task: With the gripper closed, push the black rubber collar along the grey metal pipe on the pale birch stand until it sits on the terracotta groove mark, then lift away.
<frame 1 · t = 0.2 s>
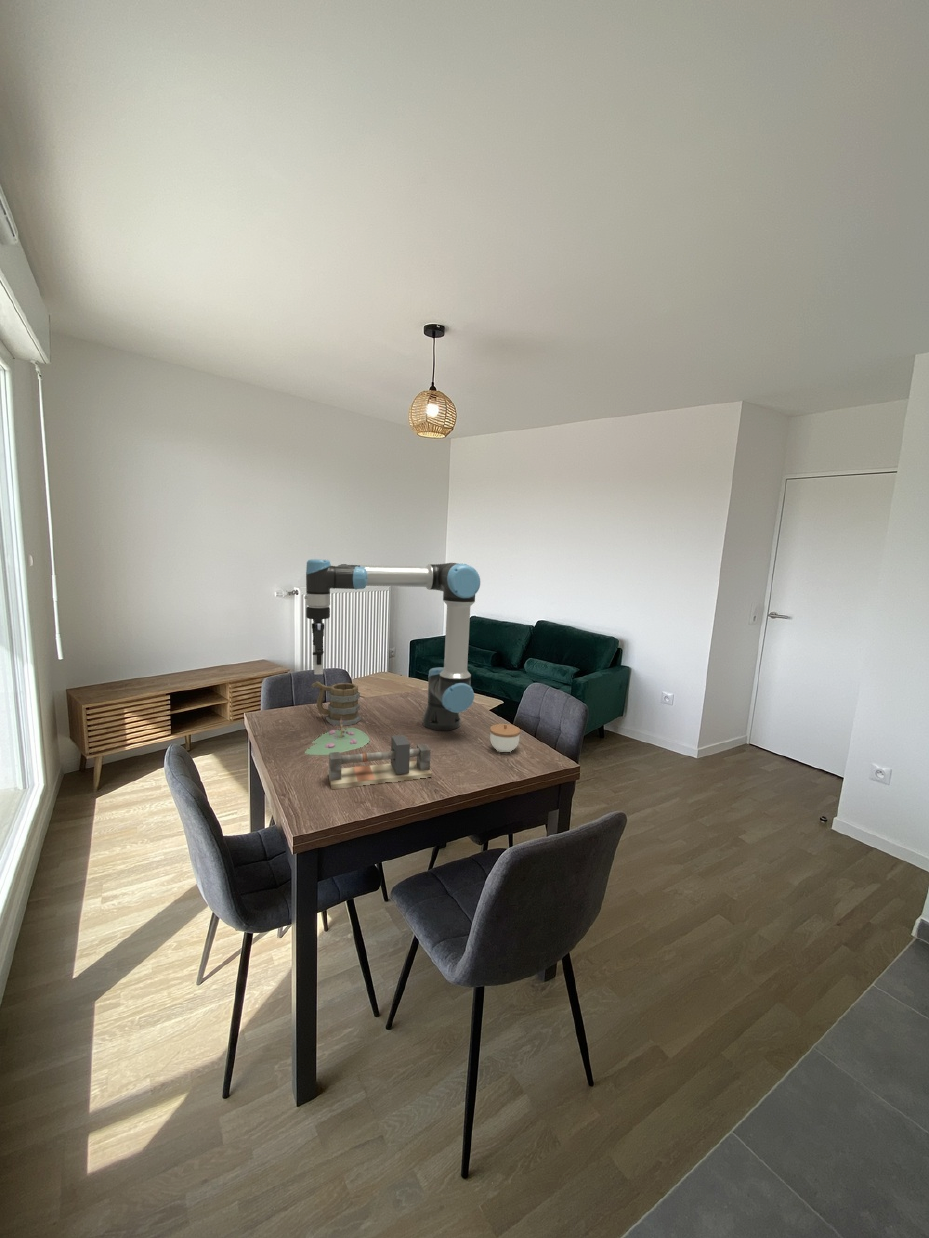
hand: (317, 669, 170), 28 cm above the table, tool pointing down, fingers open, 13 cm apart
lidded jar: (503, 750, 180), on the table
plant: (336, 744, 180), on the table
collar: (400, 754, 156), point 7 cm above the table, slide at -6.0 cm
tankard: (335, 719, 204), on the table
pipe stand: (380, 776, 155), on the table
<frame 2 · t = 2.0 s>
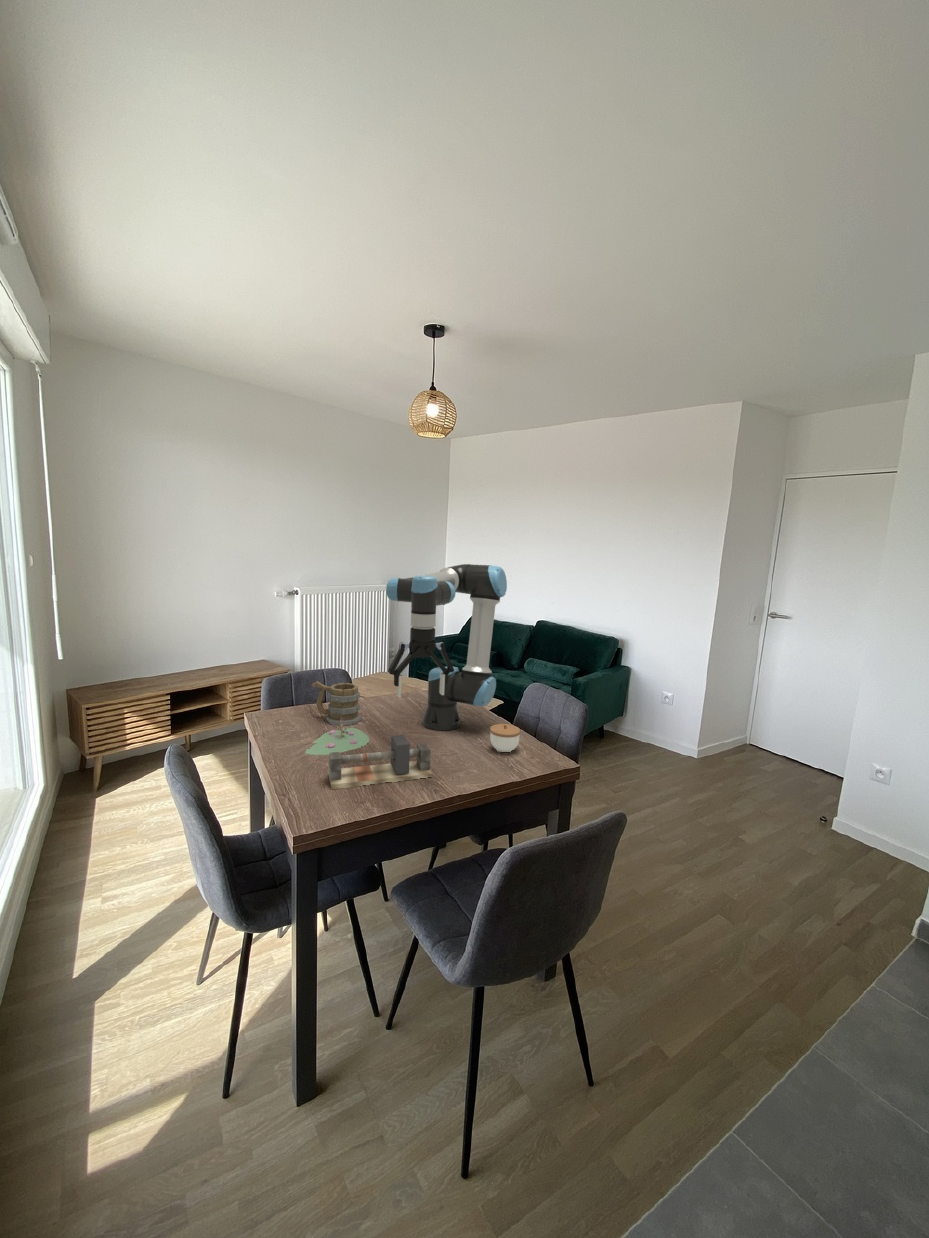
hand: (420, 695, 156), 25 cm above the table, tool pointing down, fingers open, 13 cm apart
nothing on the table moved.
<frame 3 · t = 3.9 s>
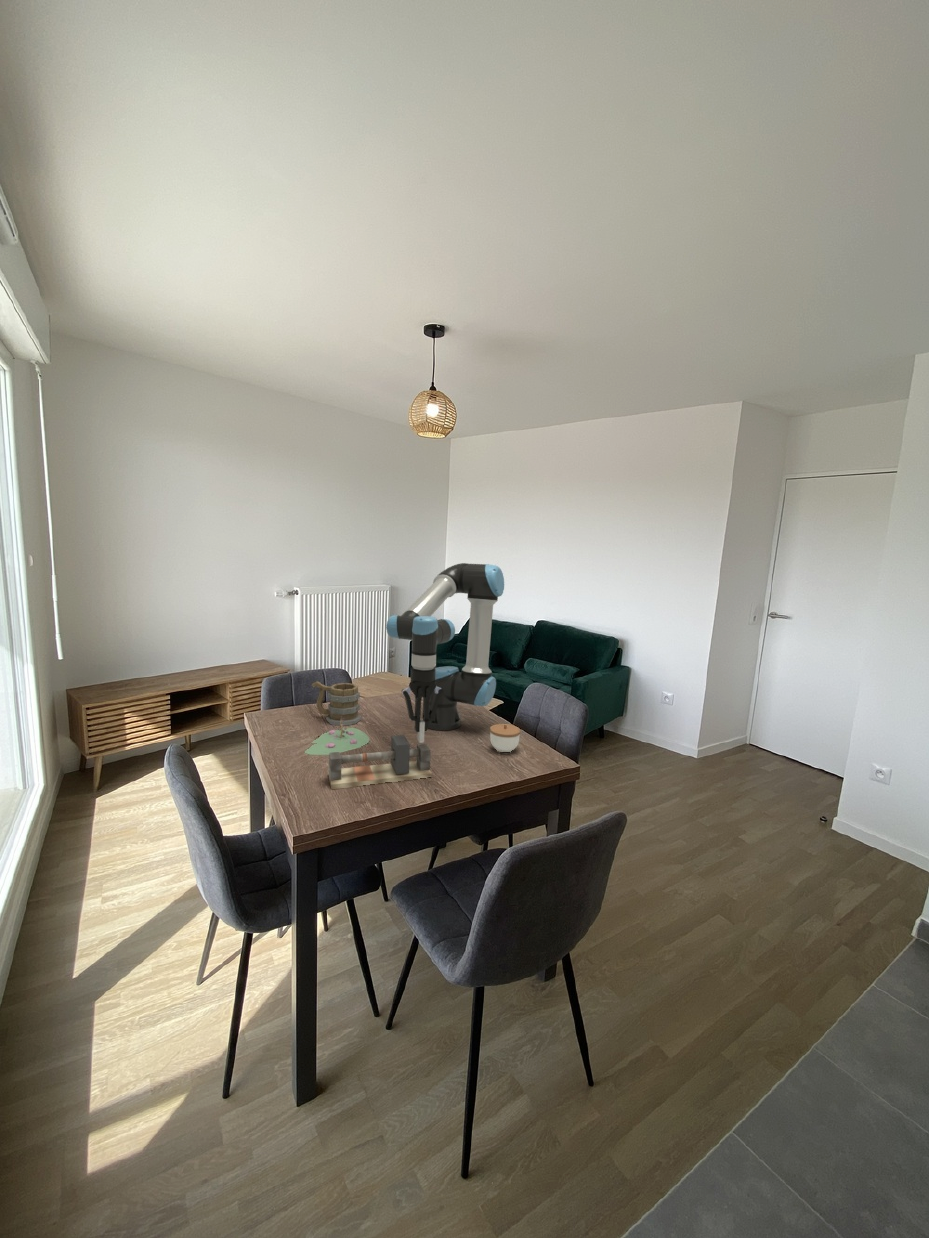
hand: (420, 741, 158), 10 cm above the table, tool pointing down, fingers closed
nothing on the table moved.
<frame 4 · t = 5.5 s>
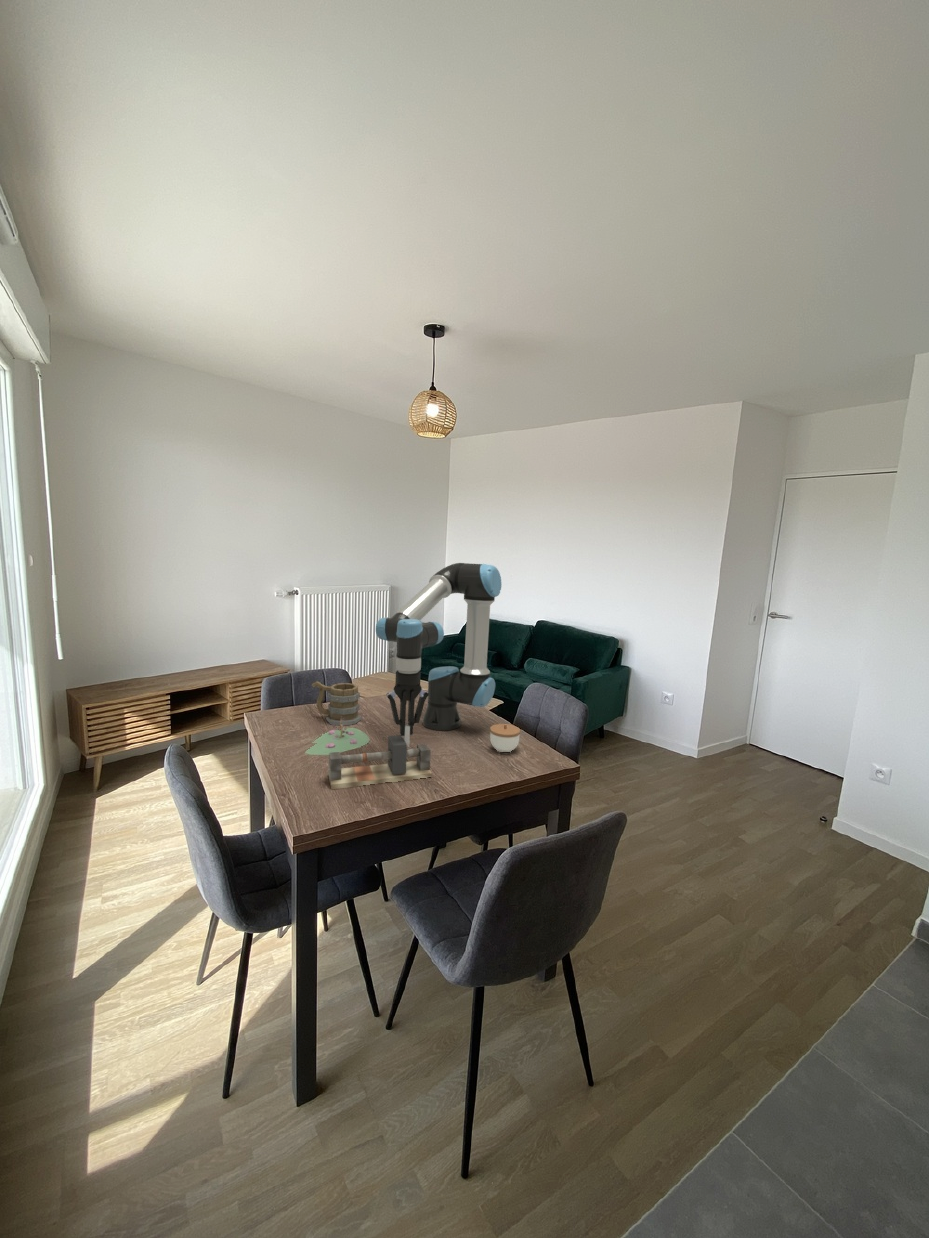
hand: (405, 744, 156), 9 cm above the table, tool pointing down, fingers closed
collar: (396, 754, 156), point 7 cm above the table, slide at -5.0 cm, touching gripper
everything else where it was.
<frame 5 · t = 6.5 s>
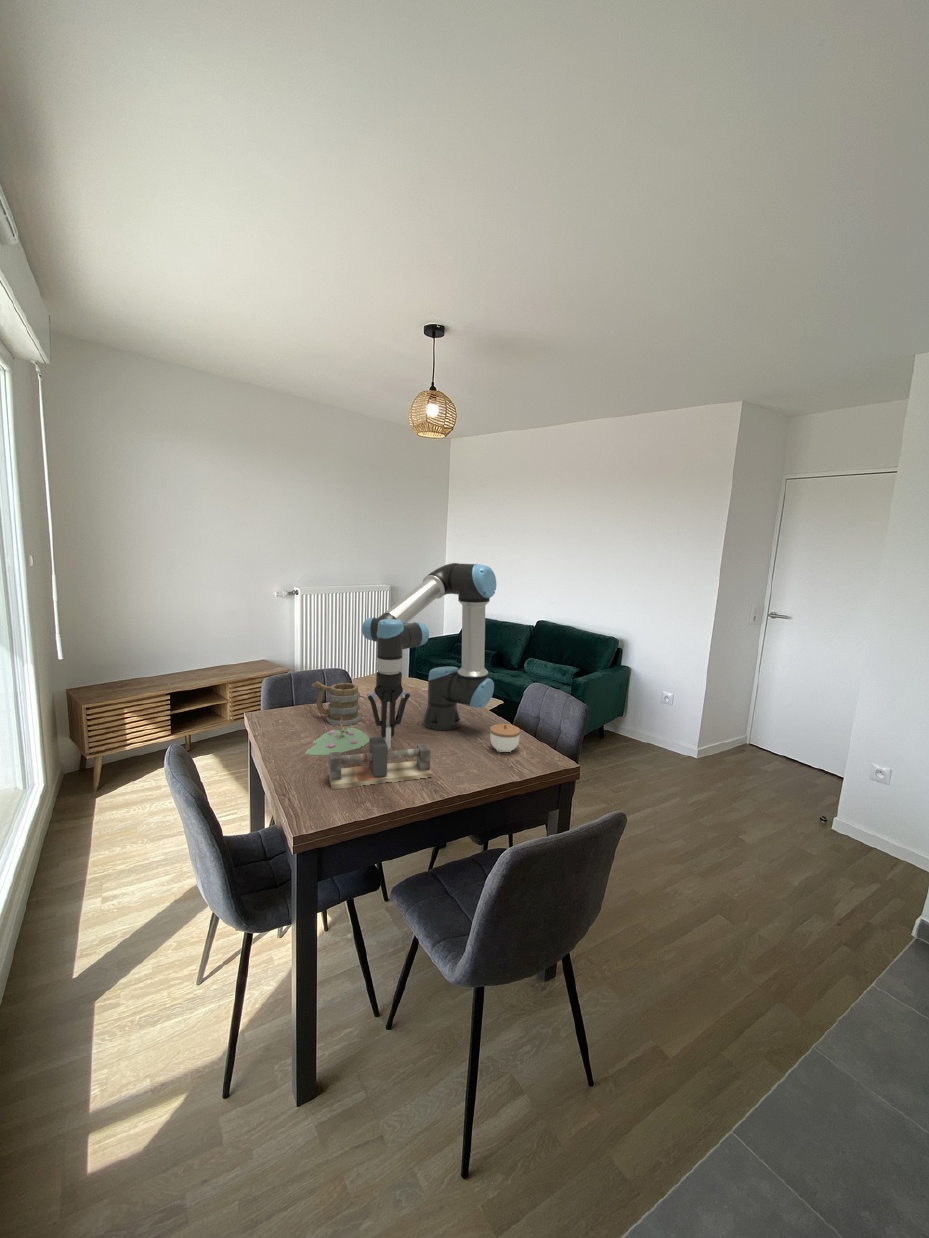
hand: (387, 746, 154), 9 cm above the table, tool pointing down, fingers closed
collar: (378, 756, 154), point 7 cm above the table, slide at 0.8 cm, touching gripper
everything else where it was.
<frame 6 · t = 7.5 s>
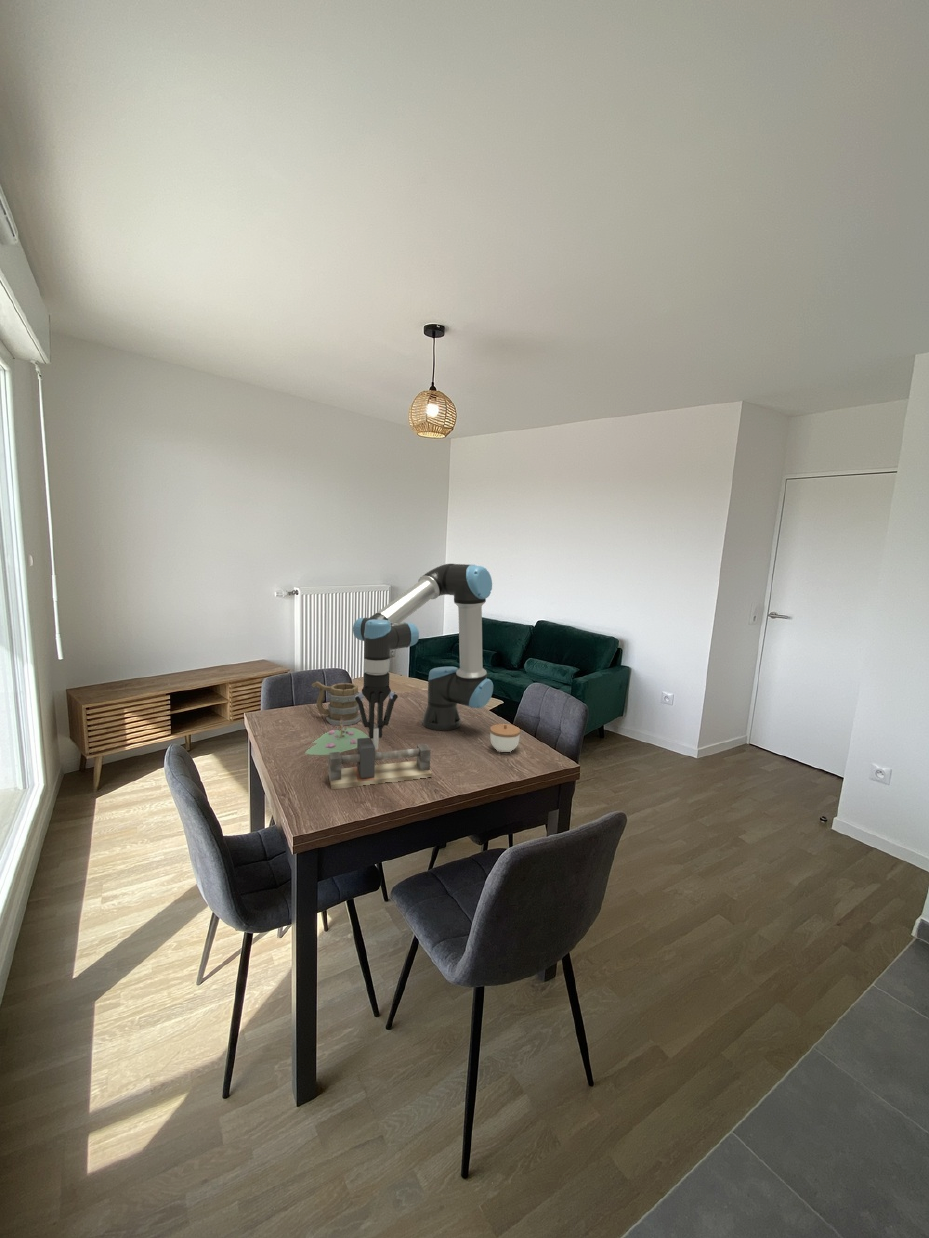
hand: (375, 747, 153), 9 cm above the table, tool pointing down, fingers closed
collar: (365, 757, 153), point 7 cm above the table, slide at 4.5 cm, touching gripper
everything else where it was.
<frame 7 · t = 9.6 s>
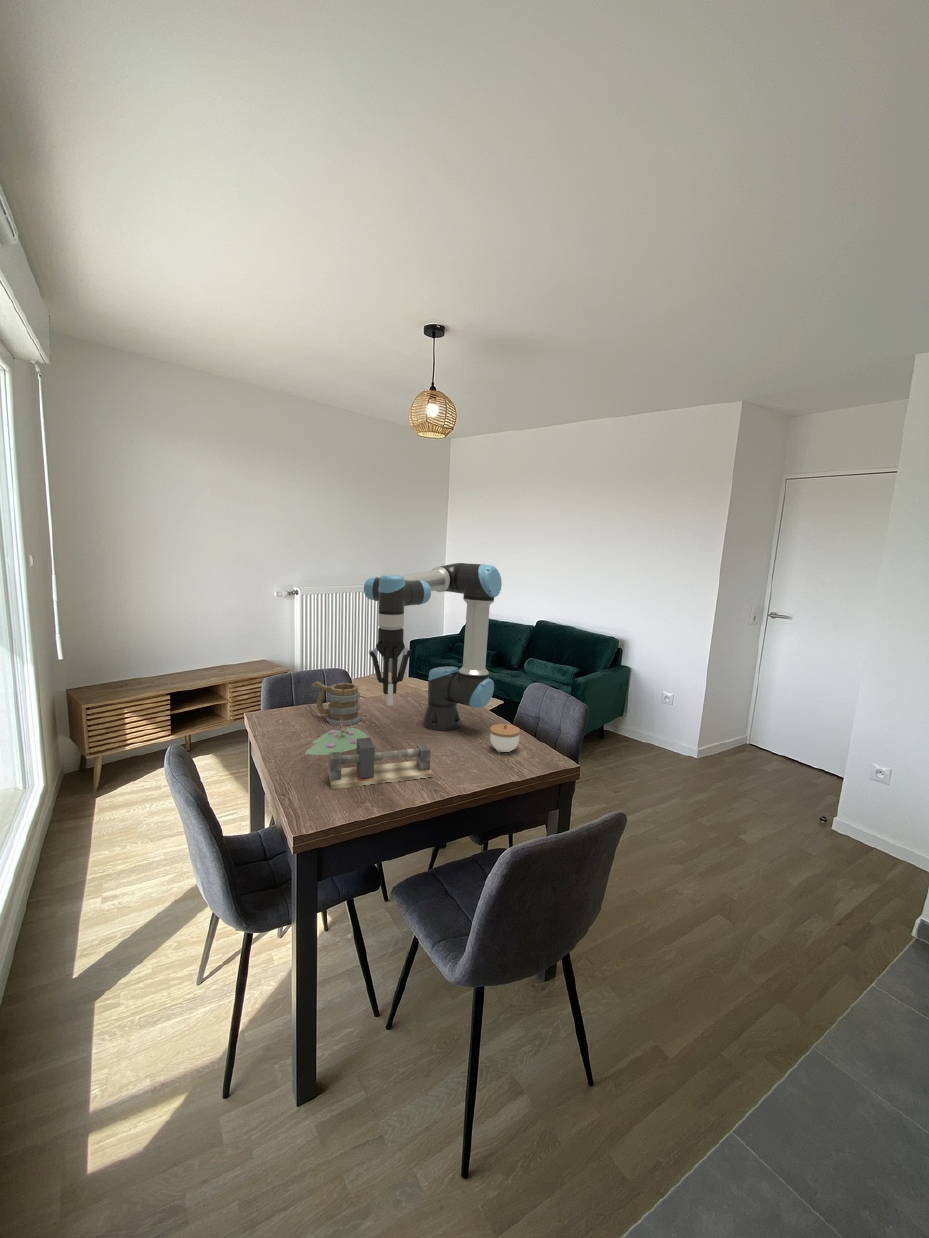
hand: (389, 703, 154), 22 cm above the table, tool pointing down, fingers closed
collar: (365, 757, 153), point 7 cm above the table, slide at 4.7 cm
everything else where it was.
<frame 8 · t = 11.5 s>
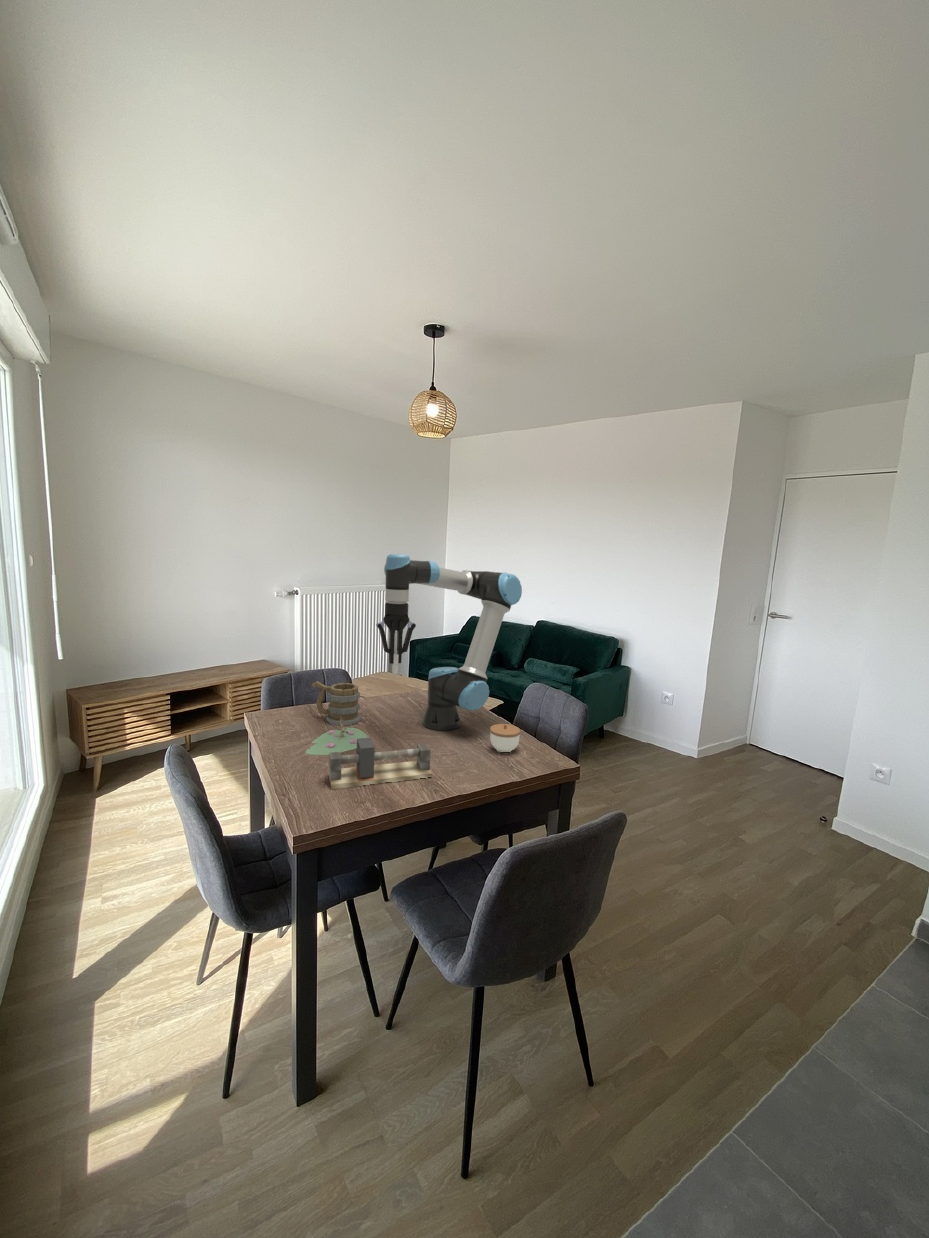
hand: (394, 672, 168), 28 cm above the table, tool pointing down, fingers closed
nothing on the table moved.
at the end: collar slide at 4.7 cm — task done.
